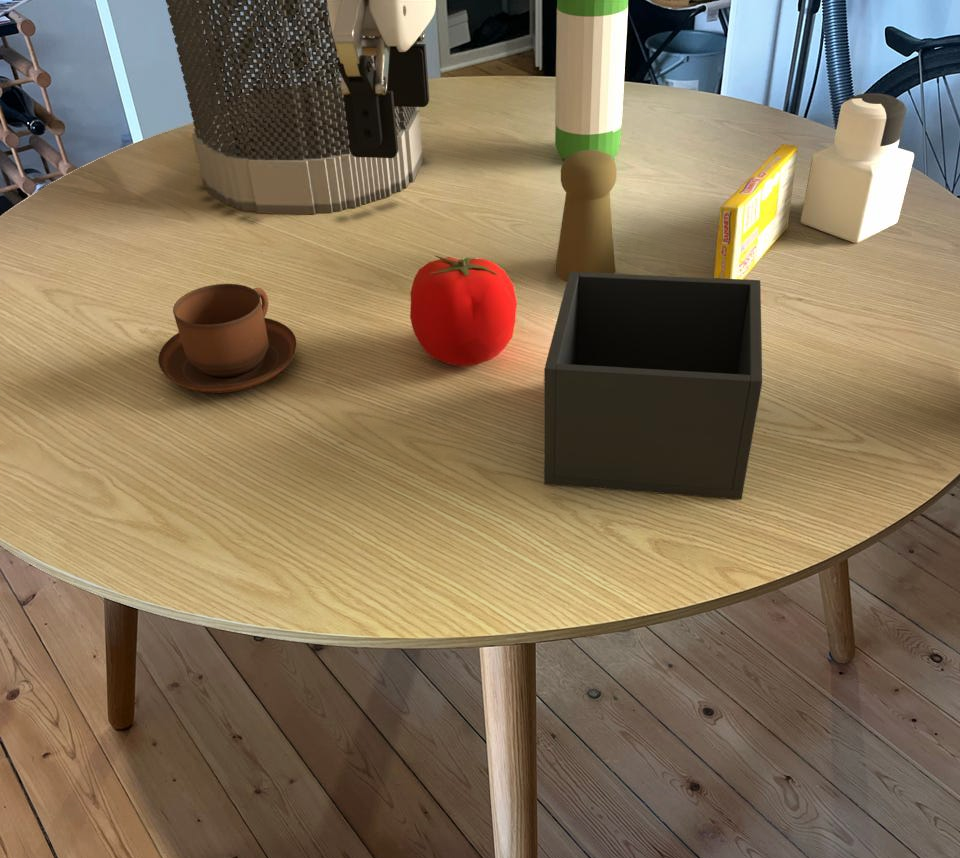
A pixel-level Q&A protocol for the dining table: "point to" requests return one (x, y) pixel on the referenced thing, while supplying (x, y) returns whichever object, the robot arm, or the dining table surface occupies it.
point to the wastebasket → (279, 111)
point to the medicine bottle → (860, 171)
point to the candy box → (755, 215)
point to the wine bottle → (590, 75)
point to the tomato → (462, 310)
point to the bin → (653, 384)
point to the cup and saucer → (225, 340)
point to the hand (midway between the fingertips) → (392, 129)
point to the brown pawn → (586, 214)
